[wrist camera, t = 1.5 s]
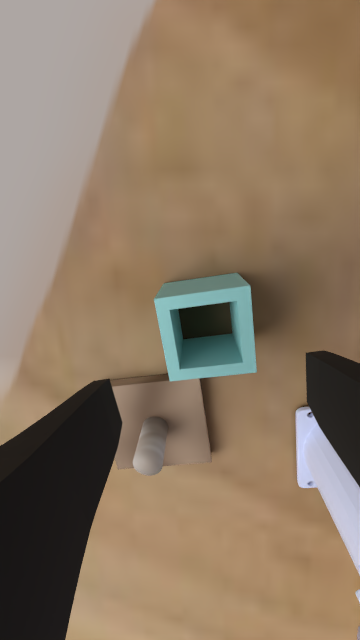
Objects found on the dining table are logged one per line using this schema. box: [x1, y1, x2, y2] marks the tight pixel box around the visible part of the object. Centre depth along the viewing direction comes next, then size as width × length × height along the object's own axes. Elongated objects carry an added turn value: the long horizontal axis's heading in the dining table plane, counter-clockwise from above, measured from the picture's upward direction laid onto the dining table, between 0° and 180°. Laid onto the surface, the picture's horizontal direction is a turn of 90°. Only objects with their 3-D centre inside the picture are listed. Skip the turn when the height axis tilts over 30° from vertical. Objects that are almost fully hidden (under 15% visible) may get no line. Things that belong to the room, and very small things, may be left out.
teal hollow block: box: [154, 273, 257, 381], centre depth 16 cm, size 5×5×4 cm
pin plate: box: [110, 374, 212, 475], centre depth 20 cm, size 8×8×4 cm
